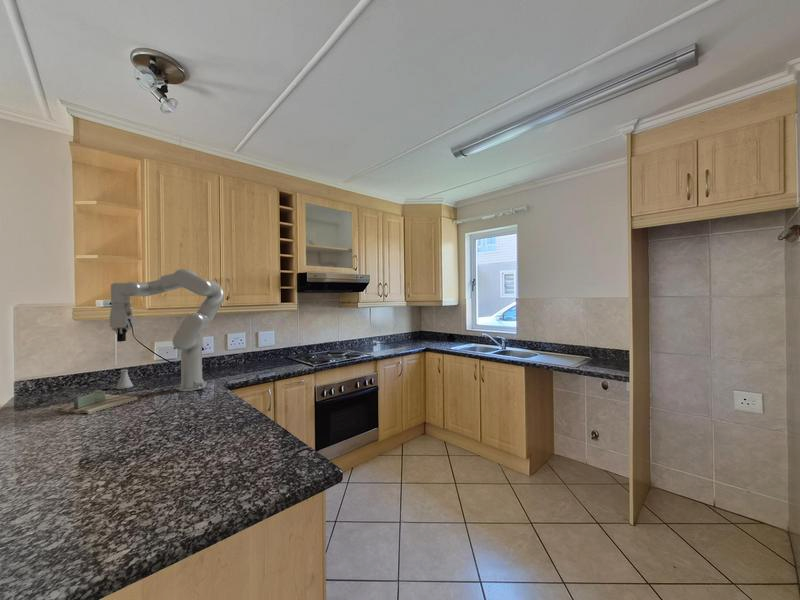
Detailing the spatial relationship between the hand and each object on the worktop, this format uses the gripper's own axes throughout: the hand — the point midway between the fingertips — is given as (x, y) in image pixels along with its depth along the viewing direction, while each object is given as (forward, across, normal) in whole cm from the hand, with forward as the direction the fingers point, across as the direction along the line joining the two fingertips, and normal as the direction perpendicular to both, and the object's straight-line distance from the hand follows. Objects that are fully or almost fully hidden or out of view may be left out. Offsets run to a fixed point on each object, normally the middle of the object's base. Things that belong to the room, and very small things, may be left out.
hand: (121, 341), depth 170 cm
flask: (+27, +9, -9) cm, 30 cm away
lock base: (+27, -9, +19) cm, 34 cm away
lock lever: (+25, -10, +23) cm, 35 cm away
